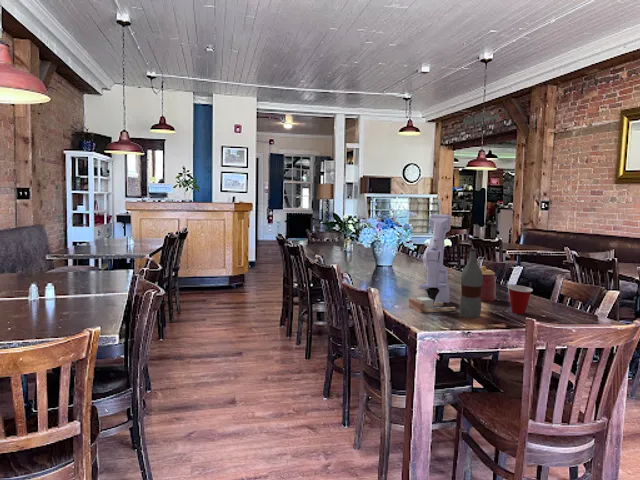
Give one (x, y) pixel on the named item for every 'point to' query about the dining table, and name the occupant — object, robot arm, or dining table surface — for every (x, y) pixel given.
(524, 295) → the plastic cup
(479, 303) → the bottle
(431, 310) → the keeper channel
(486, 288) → the canister
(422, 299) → the keeper block
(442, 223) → the robot arm
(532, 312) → the dining table surface
